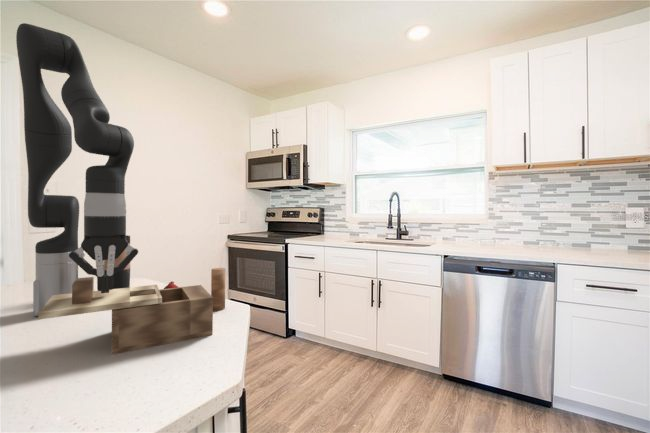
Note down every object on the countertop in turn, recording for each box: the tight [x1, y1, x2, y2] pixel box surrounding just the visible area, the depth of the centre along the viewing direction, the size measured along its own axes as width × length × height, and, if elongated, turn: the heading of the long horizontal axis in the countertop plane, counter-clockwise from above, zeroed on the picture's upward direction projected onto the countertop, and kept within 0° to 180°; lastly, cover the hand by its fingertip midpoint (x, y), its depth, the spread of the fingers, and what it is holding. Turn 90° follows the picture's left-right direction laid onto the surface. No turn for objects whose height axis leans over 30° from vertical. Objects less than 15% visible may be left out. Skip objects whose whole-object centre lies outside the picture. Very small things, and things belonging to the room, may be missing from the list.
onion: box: [163, 280, 179, 289], centre depth 93 cm, size 6×6×8 cm
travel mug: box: [104, 235, 131, 289], centre depth 108 cm, size 8×8×20 cm
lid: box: [37, 276, 162, 320], centre depth 68 cm, size 20×14×5 cm, turn 123°
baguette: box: [210, 267, 226, 312], centre depth 93 cm, size 4×4×12 cm
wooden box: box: [111, 284, 214, 355], centre depth 75 cm, size 20×14×9 cm
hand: (105, 292), depth 68 cm, fingers closed
